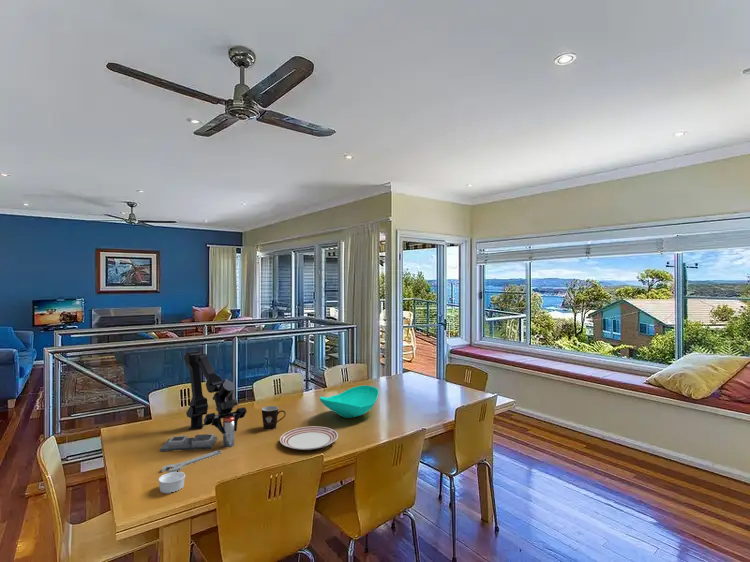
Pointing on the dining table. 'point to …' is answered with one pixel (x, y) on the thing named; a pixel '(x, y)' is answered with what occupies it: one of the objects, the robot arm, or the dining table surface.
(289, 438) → the dinner plate
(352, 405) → the table top decor
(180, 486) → the ramekin
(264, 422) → the coffee mug
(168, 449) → the fitting board
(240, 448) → the dining table surface
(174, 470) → the adjustable wrench
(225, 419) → the silver and red cylinder
